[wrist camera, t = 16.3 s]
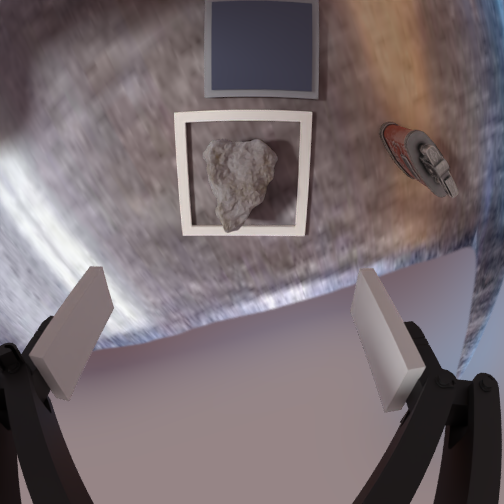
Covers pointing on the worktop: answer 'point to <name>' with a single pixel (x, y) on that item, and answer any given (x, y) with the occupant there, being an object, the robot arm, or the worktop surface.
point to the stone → (238, 178)
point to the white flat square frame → (244, 115)
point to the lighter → (418, 158)
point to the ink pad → (261, 48)
